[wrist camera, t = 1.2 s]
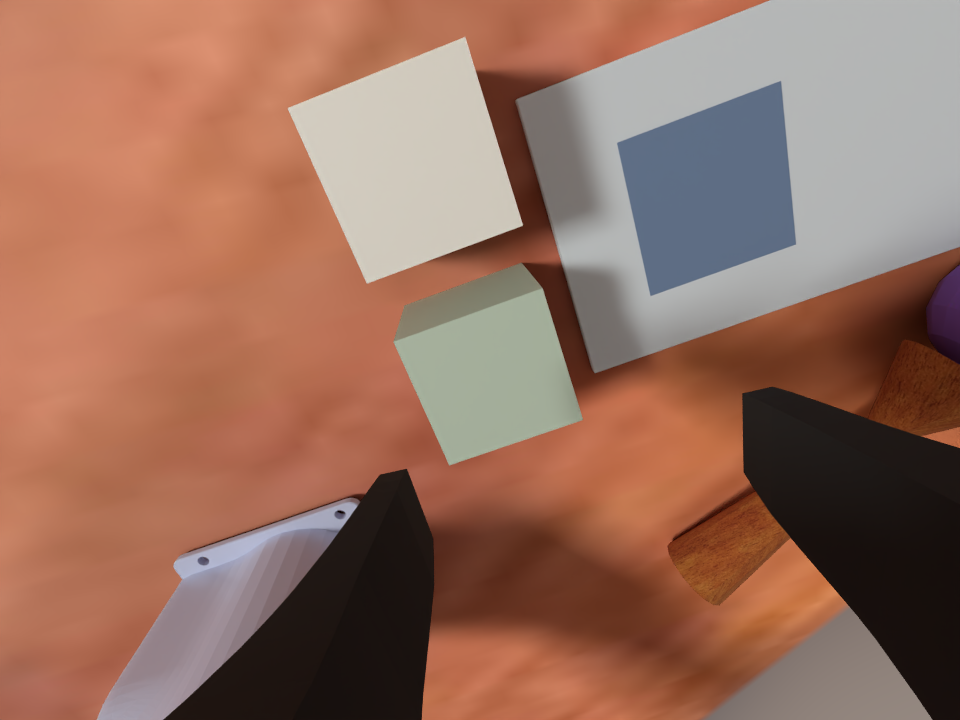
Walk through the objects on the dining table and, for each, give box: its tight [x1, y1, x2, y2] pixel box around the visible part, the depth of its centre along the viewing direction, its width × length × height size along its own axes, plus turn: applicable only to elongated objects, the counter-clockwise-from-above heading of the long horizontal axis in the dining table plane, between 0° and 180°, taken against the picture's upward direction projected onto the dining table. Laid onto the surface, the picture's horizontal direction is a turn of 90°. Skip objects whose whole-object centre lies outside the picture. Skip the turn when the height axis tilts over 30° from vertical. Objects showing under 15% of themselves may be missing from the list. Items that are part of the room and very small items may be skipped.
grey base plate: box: [515, 0, 960, 373], centre depth 18 cm, size 18×11×1 cm, turn 109°
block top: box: [288, 37, 523, 283], centre depth 15 cm, size 5×5×4 cm
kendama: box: [668, 265, 960, 605], centre depth 20 cm, size 6×6×20 cm
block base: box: [394, 263, 583, 465], centre depth 18 cm, size 5×5×4 cm
